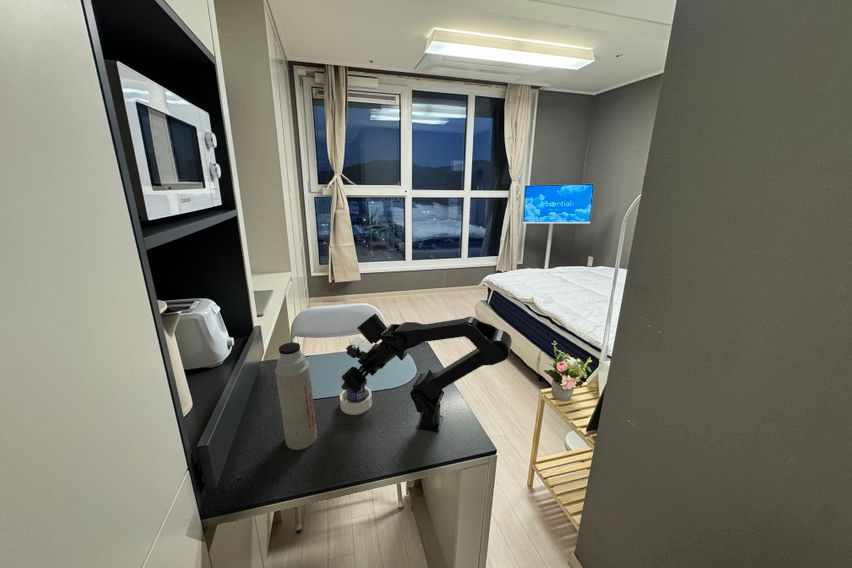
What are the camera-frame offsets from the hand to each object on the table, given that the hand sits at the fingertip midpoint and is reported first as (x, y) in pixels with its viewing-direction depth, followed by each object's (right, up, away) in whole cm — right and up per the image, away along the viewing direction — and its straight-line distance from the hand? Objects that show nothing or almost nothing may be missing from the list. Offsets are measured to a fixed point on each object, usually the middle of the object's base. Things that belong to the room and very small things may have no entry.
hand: (350, 379), depth 105 cm
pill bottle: (+1, -8, +2) cm, 8 cm away
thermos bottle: (-11, -13, -11) cm, 20 cm away
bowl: (+1, -8, +2) cm, 9 cm away
